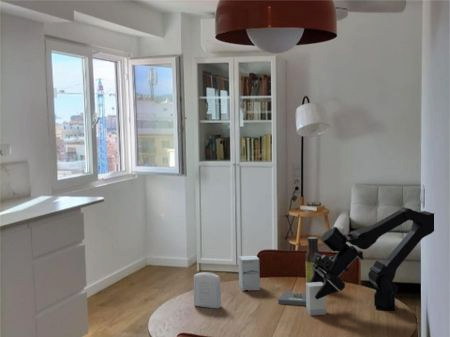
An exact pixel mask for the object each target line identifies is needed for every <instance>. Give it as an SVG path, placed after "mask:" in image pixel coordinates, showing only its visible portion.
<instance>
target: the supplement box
mask: <svg viewBox="0 0 450 337" xmlns="http://www.w3.org/2000/svg"><path fill="white" fill-rule="evenodd" d="M260 280H261V278H260V258H259V257H258V256H257V255H239V256H238V282H239V283H238V285H239V288H240V290H241V292H244V291H245V290H248V291H260V290H261V281H260Z"/></svg>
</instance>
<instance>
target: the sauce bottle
mask: <svg viewBox="0 0 450 337" xmlns="http://www.w3.org/2000/svg"><path fill="white" fill-rule="evenodd" d="M318 242H319V237H316V236H309V237H307V244H308V245H307V251H306V253H305V284H306V283H310V281H311V279H312V277H313V270H312V268H313V269H315V268H314V267H313V265H314V264H315V263H314V262H312V261H311V260H312V258H313V256H314V253H317V254H320V255H321V253H320V251H319V244H318Z"/></svg>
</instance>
